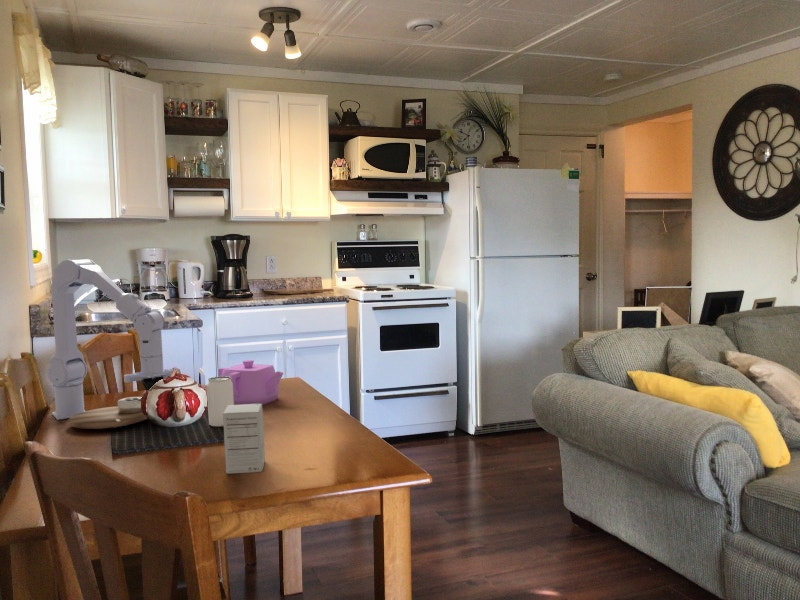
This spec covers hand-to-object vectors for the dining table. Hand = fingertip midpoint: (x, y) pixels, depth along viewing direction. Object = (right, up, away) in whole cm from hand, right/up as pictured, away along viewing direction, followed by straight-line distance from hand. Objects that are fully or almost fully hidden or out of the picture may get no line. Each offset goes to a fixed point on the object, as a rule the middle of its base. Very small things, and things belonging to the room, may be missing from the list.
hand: (154, 405), depth 194 cm
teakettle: (+23, -2, +17) cm, 29 cm away
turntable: (-9, -3, -6) cm, 12 cm away
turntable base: (-9, -4, -6) cm, 12 cm away
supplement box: (+35, -6, -47) cm, 59 cm away
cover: (-5, -1, -3) cm, 6 cm away
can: (+21, -4, -10) cm, 23 cm away
